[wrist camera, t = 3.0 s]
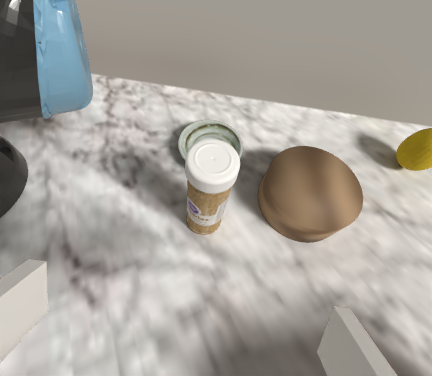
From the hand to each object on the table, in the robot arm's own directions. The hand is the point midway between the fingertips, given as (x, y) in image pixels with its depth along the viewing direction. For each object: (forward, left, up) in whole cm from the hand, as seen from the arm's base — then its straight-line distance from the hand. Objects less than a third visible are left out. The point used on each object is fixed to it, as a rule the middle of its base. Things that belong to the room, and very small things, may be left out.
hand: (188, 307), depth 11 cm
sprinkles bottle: (0, +11, -17) cm, 20 cm away
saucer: (-1, +22, -17) cm, 28 cm away
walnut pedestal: (+13, +16, -16) cm, 26 cm away
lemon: (+31, +26, -17) cm, 44 cm away
